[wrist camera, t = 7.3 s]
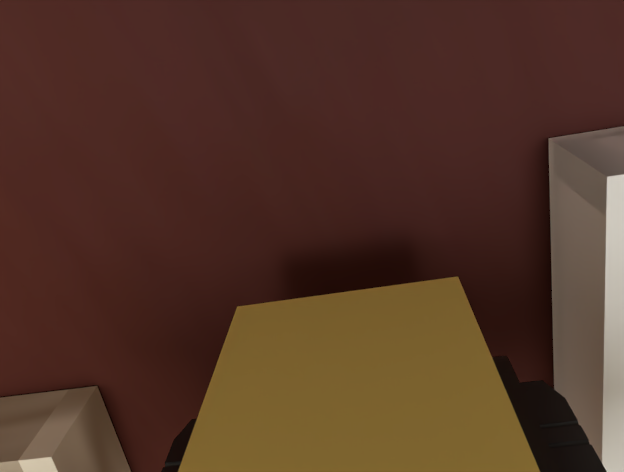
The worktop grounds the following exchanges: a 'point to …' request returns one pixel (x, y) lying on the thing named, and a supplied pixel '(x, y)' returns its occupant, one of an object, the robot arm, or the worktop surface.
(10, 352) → the worktop surface
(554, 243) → the tray
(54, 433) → the holder
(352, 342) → the block
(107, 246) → the worktop surface
